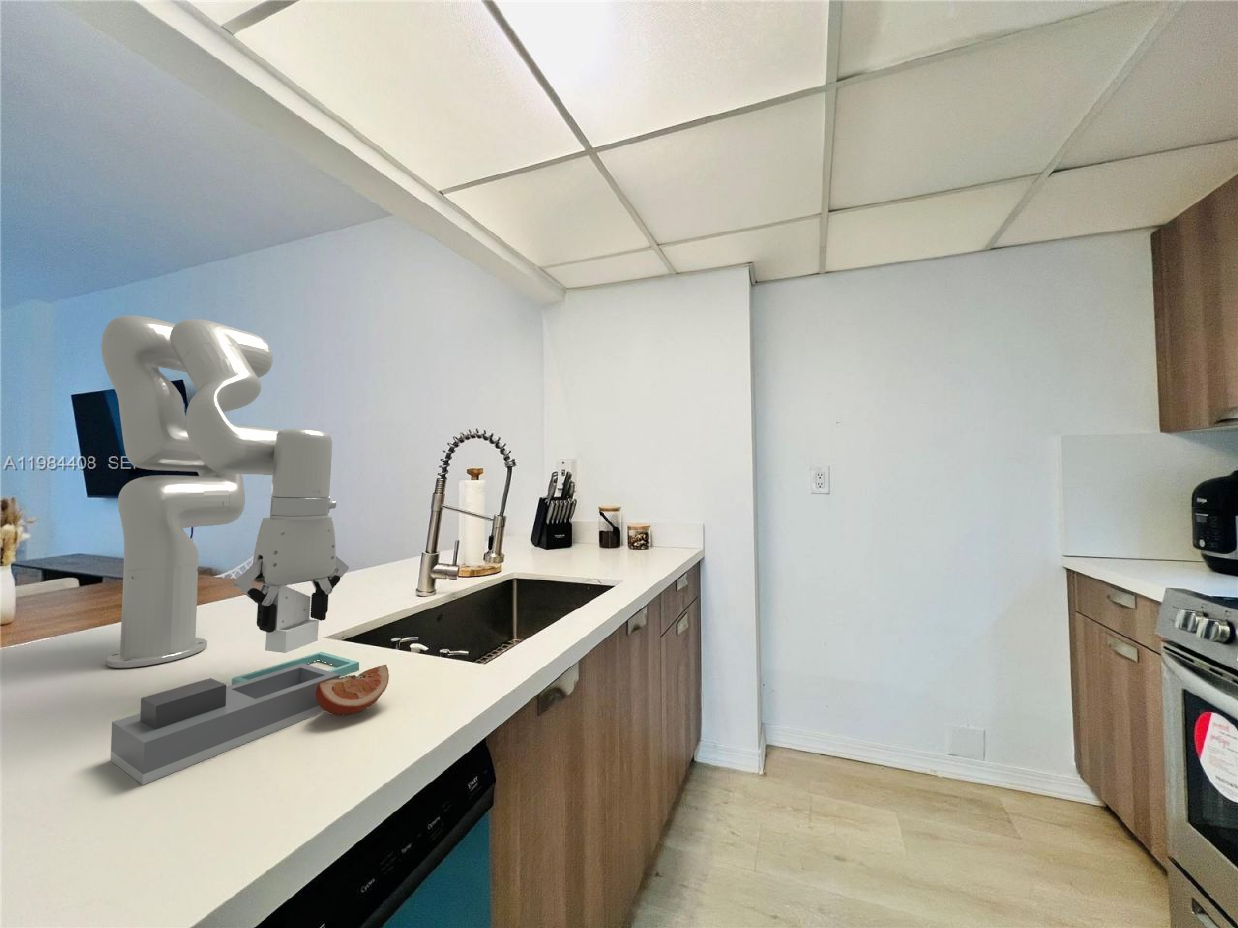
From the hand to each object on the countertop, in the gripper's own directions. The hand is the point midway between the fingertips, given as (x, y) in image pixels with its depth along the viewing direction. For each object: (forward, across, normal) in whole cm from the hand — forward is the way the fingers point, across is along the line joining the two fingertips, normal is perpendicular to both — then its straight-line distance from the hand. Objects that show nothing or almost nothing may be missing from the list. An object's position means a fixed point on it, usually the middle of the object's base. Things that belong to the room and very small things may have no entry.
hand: (293, 623), depth 73 cm
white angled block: (+3, 0, 0) cm, 3 cm away
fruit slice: (+7, +2, +20) cm, 22 cm away
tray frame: (+8, 0, +2) cm, 8 cm away
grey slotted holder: (+8, +12, +12) cm, 18 cm away
